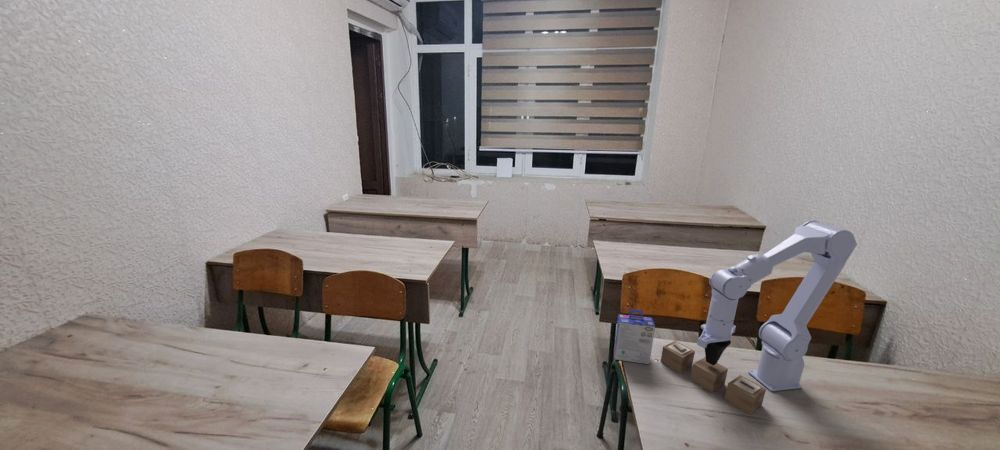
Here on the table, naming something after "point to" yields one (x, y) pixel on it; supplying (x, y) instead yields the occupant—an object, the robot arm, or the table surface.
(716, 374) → the plain block
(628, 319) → the ink cartridge box
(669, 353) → the numbered block seven
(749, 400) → the numbered block one
